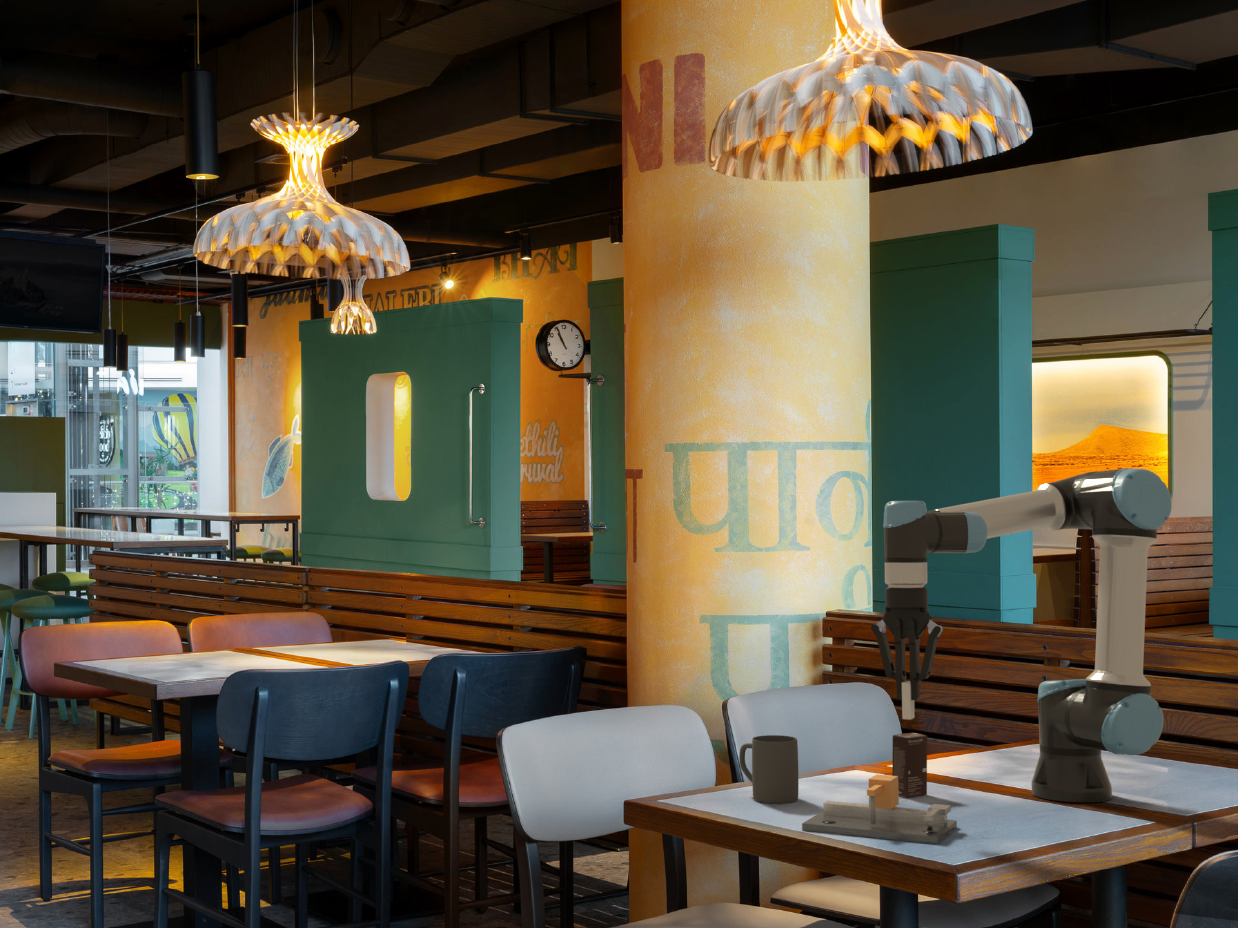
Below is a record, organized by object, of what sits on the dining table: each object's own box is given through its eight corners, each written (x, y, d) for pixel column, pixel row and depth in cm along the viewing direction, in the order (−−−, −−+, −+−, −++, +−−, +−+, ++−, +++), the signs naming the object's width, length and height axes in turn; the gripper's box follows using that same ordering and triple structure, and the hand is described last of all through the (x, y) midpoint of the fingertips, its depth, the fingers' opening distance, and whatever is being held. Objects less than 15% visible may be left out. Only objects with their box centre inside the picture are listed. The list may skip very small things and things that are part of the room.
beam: (951, 822, 226) (950, 805, 226) (937, 834, 217) (936, 816, 217) (829, 810, 236) (828, 794, 236) (810, 821, 227) (810, 804, 227)
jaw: (898, 813, 231) (898, 775, 231) (882, 825, 221) (881, 786, 222) (877, 811, 233) (876, 774, 233) (859, 823, 223) (859, 784, 224)
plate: (956, 827, 227) (956, 819, 227) (937, 843, 215) (937, 836, 215) (827, 814, 238) (827, 807, 239) (802, 830, 226) (802, 822, 226)
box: (908, 798, 253) (906, 737, 254) (891, 794, 257) (890, 734, 257) (929, 794, 256) (928, 734, 257) (912, 791, 260) (911, 731, 261)
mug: (808, 799, 253) (807, 738, 254) (779, 806, 247) (778, 743, 247) (754, 790, 263) (753, 731, 264) (725, 796, 256) (725, 736, 257)
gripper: (947, 586, 230) (950, 717, 229) (876, 585, 236) (879, 713, 235) (937, 587, 223) (939, 723, 222) (864, 586, 230) (866, 718, 228)
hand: (908, 718), depth 228 cm, fingers closed
